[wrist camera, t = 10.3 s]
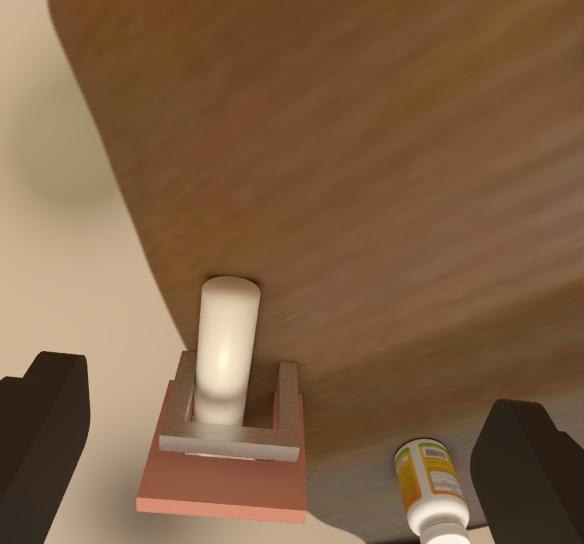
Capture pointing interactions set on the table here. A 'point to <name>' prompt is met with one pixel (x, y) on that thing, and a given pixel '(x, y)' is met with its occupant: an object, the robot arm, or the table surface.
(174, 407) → the grey u-shaped panel
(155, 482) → the wall
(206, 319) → the white long cylinder
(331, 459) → the table surface
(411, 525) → the supplement bottle
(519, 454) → the robot arm
